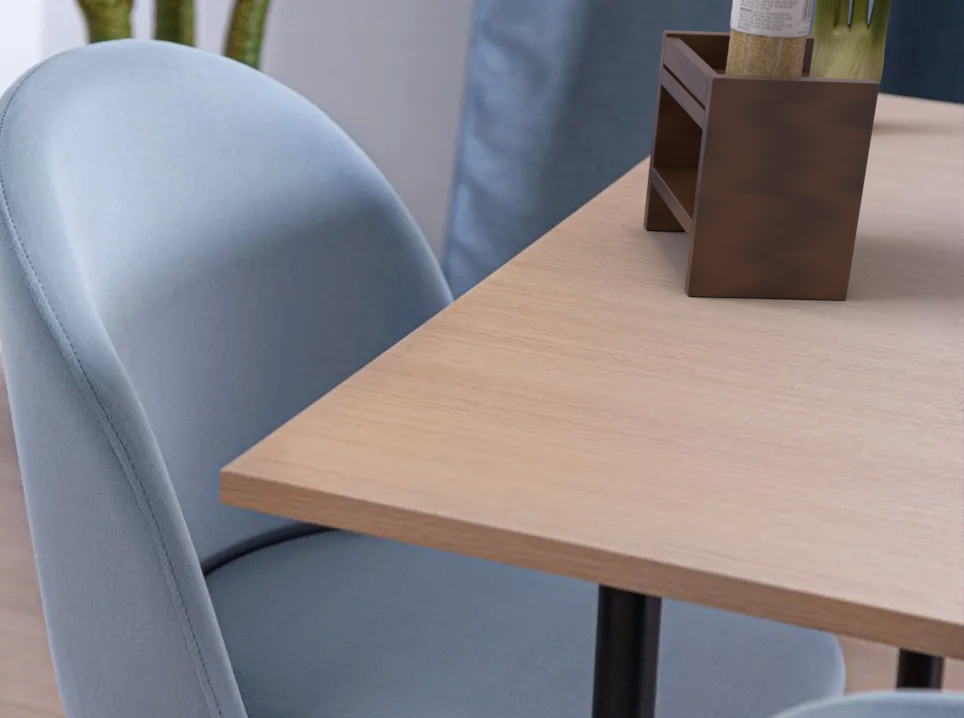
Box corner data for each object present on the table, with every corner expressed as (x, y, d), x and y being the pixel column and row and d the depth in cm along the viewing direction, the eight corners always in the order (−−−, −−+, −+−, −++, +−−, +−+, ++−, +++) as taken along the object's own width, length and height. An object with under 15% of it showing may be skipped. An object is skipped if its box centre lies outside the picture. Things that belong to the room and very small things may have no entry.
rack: (783, 229, 111) (810, 35, 106) (846, 300, 99) (880, 83, 93) (642, 225, 110) (663, 29, 105) (687, 296, 98) (712, 77, 93)
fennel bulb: (877, 127, 140) (902, -31, 134) (857, 137, 136) (882, -24, 131) (807, 115, 142) (829, -39, 137) (786, 126, 138) (807, -33, 133)
